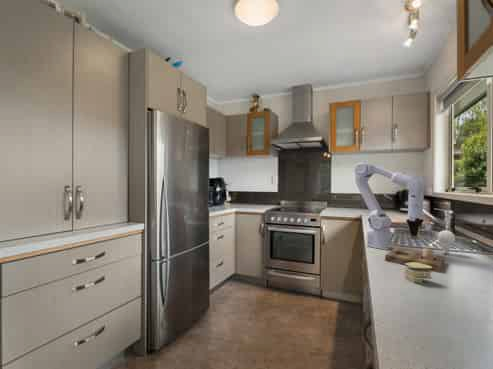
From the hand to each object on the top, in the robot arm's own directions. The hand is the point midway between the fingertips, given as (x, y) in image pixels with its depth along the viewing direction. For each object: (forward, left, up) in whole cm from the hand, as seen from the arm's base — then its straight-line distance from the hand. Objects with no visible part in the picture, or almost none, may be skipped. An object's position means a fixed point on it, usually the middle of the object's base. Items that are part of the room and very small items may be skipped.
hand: (414, 235), depth 114 cm
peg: (+7, -12, -9) cm, 17 cm away
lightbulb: (+10, +13, -9) cm, 19 cm away
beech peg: (0, 0, -2) cm, 2 cm away
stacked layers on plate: (+7, -36, -10) cm, 38 cm away
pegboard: (+2, -12, -9) cm, 15 cm away
